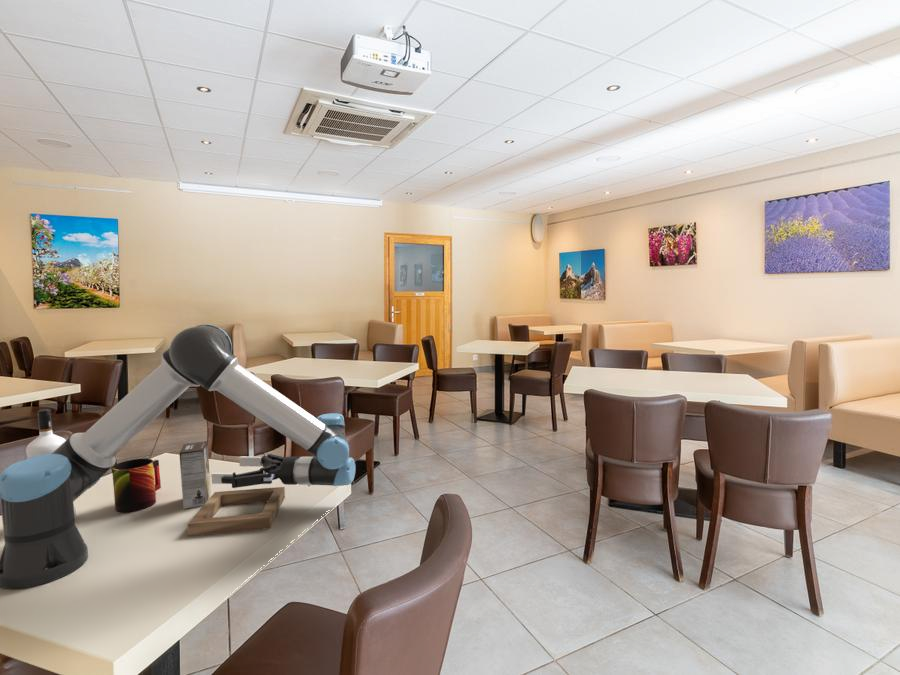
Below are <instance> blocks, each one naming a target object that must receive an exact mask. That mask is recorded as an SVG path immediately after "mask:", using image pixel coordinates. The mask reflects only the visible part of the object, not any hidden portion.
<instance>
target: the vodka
mask: <svg viewBox="0 0 900 675" xmlns="http://www.w3.org/2000/svg"><path fill="white" fill-rule="evenodd" d="M51 416H52V413H51V409H49V408H48V409H47V408H45V409H40V410H37V419H38V421H37V422H38V431H39V435H38V436H37V437H36V438H34V439H33V440H32V441H31V442H29V443H28V444H27V446H26V448H25V449H26V450H25V452H26V456H27V458H26V459H28V458H31V457H35V456H40V455H47V454H51V453H53V452H54V451H55V450H56V449H57V448H58V447H59V446H61V445H62V444H63V443H64V442H65V441H66V440H67V439H66V438H64V437H62V436H59V435H58V434H54V432H53V425H52V424H53V423H52V417H51ZM74 515H75V516H76V515H77V510H76V507H75V506H74Z"/></svg>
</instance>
